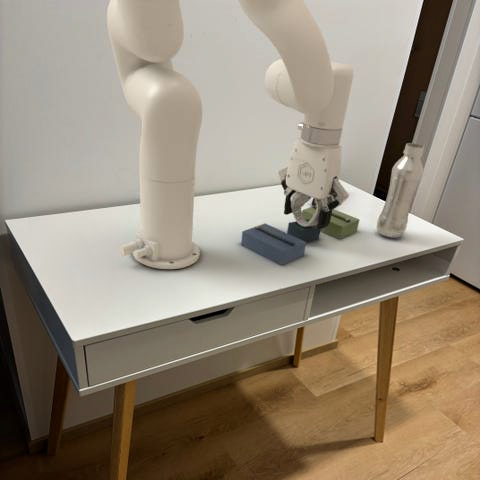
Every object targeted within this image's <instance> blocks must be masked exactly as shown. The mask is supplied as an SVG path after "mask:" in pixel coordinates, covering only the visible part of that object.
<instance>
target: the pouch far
mask: <svg viewBox="0 0 480 480" xmlns="http://www.w3.org/2000/svg"><path fill="white" fill-rule="evenodd" d="M316 209H317V205H315V206H313V205H312V206H310V207H307V208H304V209H301V211H302V214H303V218H304V219H309V220H311V218H312V217H313V215H314V213H315V212H316ZM360 220H361V219H360V218H357V217H355V216H352V215H350V214H348V213H344V212H342V211H339V210H337V209H336V208H335V209H333V210H332V215H331V219H330V223H329V225H328V226H327V227H325V228H322V229H321V231H320V232H322V233H324V234H327V235H329V236H331V237H334V238H336V239H338V240H341V239H343V238H346V237H349V236H350V235H353V234H355V233H357V231H358V228H359V225H360Z"/></svg>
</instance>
